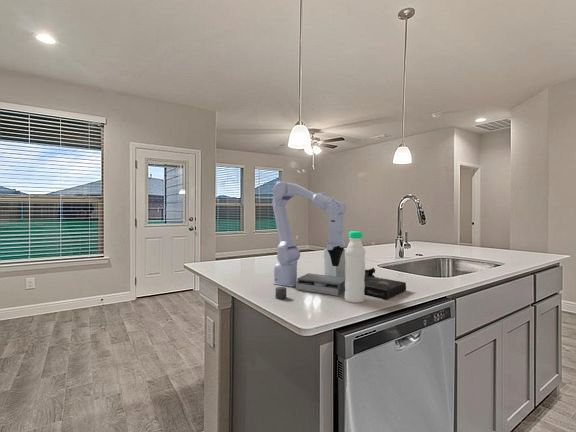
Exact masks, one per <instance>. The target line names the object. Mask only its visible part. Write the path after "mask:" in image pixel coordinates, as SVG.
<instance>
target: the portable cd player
mask: <svg viewBox="0 0 576 432" xmlns="http://www.w3.org/2000/svg"><path fill="white" fill-rule="evenodd" d="M364 283H365V288H364V294H365V297H366V296H367V297H371V298H376V299H379V298H380V299H381V300H385V301H388V300H390V299H393V298H394V297H397V296H399V295H400V294H403V293H405V292H406V291H407V282H405V281H399V280H394V279H388V278H384V277H377V276H374V277H372V276H367V277H365V278H364ZM396 295H397V296H396ZM380 299H379V300H380Z"/></svg>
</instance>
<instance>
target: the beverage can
mask: <svg viewBox="0 0 576 432" xmlns="http://www.w3.org/2000/svg"><path fill="white" fill-rule="evenodd" d="M375 273H376V269H375V267H371V268H369V269H365V277H367V276H372V277H375V275H374V274H375Z"/></svg>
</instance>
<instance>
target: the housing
mask: <svg viewBox="0 0 576 432" xmlns="http://www.w3.org/2000/svg"><path fill="white" fill-rule="evenodd" d="M345 280H346V279H345V278H344V277H336V276H327V275H325V274H317V273H309V272H308V273H306V274H304V275H302V276H300V277H297V283H302V282H304V281H310V282H317V283H324V284H332V285H338V289H339V291H338V296H341V295H342V294H343V293H345Z"/></svg>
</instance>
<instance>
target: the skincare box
mask: <svg viewBox="0 0 576 432" xmlns="http://www.w3.org/2000/svg"><path fill="white" fill-rule="evenodd" d="M345 251H346V249H345V248H344V250H343V252H342V255H341V258H340V262H339V266H332V262H331V257H330V254H329V252H328V251H327V248H324V249H323V254H324V255H323V258H324V262H323V263H324V275H327V276H336V277H344V278H345V259H346V254H345Z"/></svg>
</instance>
